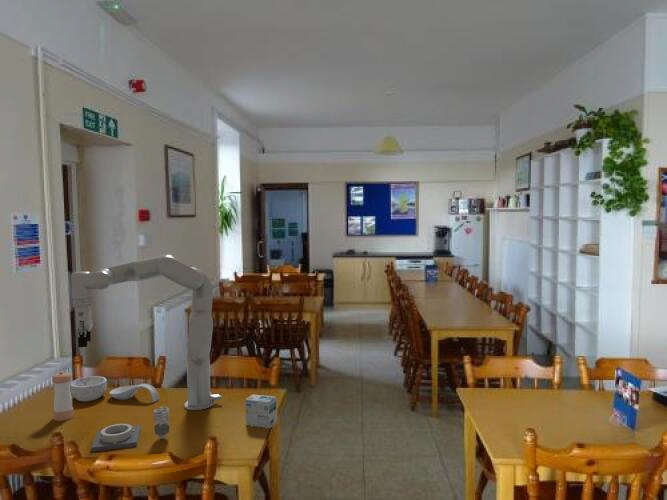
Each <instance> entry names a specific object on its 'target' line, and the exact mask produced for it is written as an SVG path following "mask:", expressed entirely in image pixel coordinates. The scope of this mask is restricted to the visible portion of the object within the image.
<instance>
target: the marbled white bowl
mask: <svg viewBox="0 0 667 500" xmlns="http://www.w3.org/2000/svg"><path fill="white" fill-rule="evenodd" d="M107 389H108V381H107V378H106V377H104V376H98V375H97V376H95V375H93V376H85V377H79V378H77V379H74V380H72V381H71V382H70V393H71V397H74V398H75V399H76V400H77V401H79V402H92V401H95V400H97V399H100V398H101V397H102V396H103V393H105V392H106V391H107Z"/></svg>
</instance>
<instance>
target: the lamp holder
mask: <svg viewBox="0 0 667 500" xmlns="http://www.w3.org/2000/svg"><path fill="white" fill-rule="evenodd" d="M140 433H141V425H134V426H132V425H131V424H129V423H116V424H115V423H114V424H112V425H108V426H106V427H105V428H104V427H103V429H101V430H99V429H98V430H97V433H96V435H95V437H94V439H93V442H92V445H91V447H90V449H91V453H92V452H93V453H94V452H100V451H109V450H116V449H123V448H124V449H125V448H131V447H132V448H133V447H137V446H138V444H139V438H140Z"/></svg>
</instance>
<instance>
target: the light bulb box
mask: <svg viewBox="0 0 667 500" xmlns="http://www.w3.org/2000/svg"><path fill="white" fill-rule="evenodd" d="M244 405H245V406H244V407H245V426H246V425H253V426H260V427H265V428H264V429H268V428H269V430H270V429H271V428H272V427H274V426H275V425H276V424H277V423H278V416H277V415H278V411H277V409H278V407H277V396H276V395H275V396H272V395H264V394H263V395H262V394H260V395H259V394H254V393H253V394H251V395H250V396H249V397H248V396H247V398H245V403H244ZM253 426H252V427H253ZM260 427H259V428H260Z"/></svg>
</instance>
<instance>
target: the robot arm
mask: <svg viewBox="0 0 667 500" xmlns="http://www.w3.org/2000/svg"><path fill="white" fill-rule="evenodd" d="M70 277H71V278H70V279H71V280H70V281H71V299H72V301H71V302H72V308H75V325H76V327H75V328H76V332H77V333H78V335H77V345H78V346H77V347H78V348H87V347H88V342H90V341H91V340H92V339H91V338H92V335H91V331H92V329H93V326H94V321H93V310H92V306H94V297H93V296H94V294H93V292H94V290H99V291H100V290H101V291H102V290H106V289H108V288H109V287H110V286H114V285H117V284H122V283H127V282H144V281H148V280H152V279H157V278H160V277H164V278H166V280H169V281H171V282H173V283H175V284H177V285H179V286H181V287H183V288H184V289H187V290H191V292H192V295H191V296H192V298H191V309H190V315H189V318H188V322H189V327H188V335H187V336H188V337H187V339H186V341H185V342H186V343H185V350H186V351H185V352H186V354H185V355H186V374H187V375H186V379H187V380H186V381H187V401H186V402H185V403H183V404H184V406H183V407H184V408H185V409H186V410H189V411H203V409H204V410H207V409H206V408H208V409H210V408H212V407H213V406H214V405H215V401H222V395H219V394H212V391H211V371H210V369H211V366H210V361H211V360H210V352H211V347H212V338H213V330H214V320H213V317H212V310H213V298H214V297H213V295H214V294H213V290H214V289H213V285H212V282H211V280H210V277H208V275H207V274H206V273H205V272H204V271H202V269H200V268H198V267H195V266H189V265H187V264H185V263H184V262H182V261H180V260H178V259H177V258H176V257H175V256H174V255H172V254H162V255H158V256H153V257H150V258H145V259H140V260H135V261H131V262H128V263H124V264H119V265H115V266H114V265H113V266H110V267H105V268H101V269H99V270H97V271H95V272H93V271H92V272H91V271H85V270H83V271H74V272H72V273H71V275H70ZM211 406H212V407H211ZM209 407H210V408H209Z"/></svg>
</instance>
